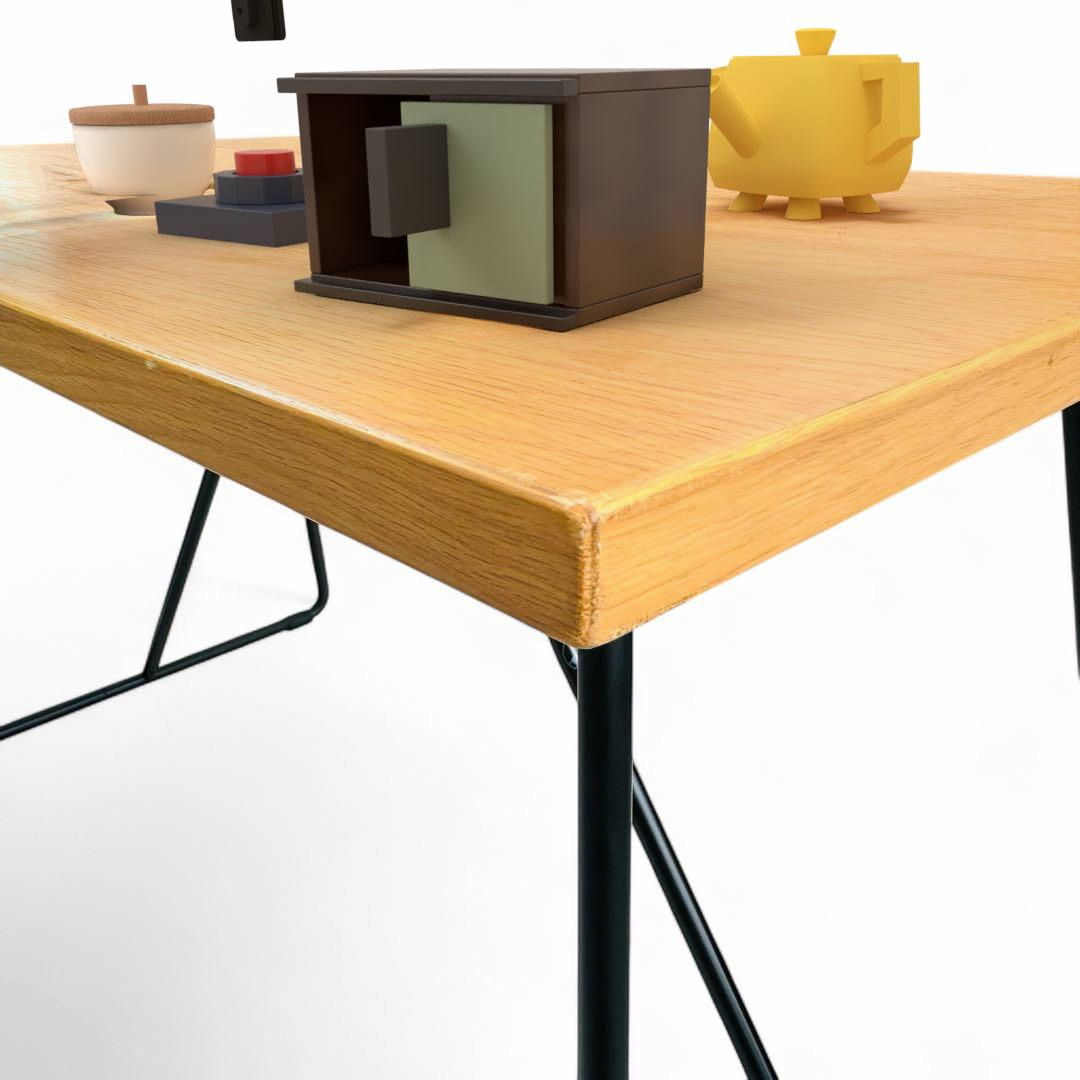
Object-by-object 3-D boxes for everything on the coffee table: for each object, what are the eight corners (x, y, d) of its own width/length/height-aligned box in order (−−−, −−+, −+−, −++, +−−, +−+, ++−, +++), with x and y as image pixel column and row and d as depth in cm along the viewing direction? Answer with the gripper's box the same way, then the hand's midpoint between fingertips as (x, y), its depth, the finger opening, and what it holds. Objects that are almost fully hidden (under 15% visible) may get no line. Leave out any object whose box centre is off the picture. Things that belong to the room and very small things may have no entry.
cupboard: (562, 332, 53) (561, 73, 49) (294, 291, 63) (275, 73, 59) (703, 288, 62) (712, 68, 58) (450, 259, 72) (442, 68, 68)
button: (224, 179, 82) (221, 152, 82) (269, 174, 85) (266, 148, 85) (263, 182, 80) (261, 154, 79) (308, 177, 83) (306, 150, 82)
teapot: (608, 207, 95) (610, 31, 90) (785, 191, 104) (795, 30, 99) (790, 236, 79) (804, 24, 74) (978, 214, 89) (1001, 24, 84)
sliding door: (489, 320, 51) (483, 108, 48) (350, 300, 55) (336, 105, 52) (554, 303, 54) (553, 103, 51) (417, 284, 59) (408, 101, 56)
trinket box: (61, 211, 96) (41, 85, 93) (185, 200, 103) (171, 82, 99) (119, 224, 89) (100, 87, 85) (249, 210, 95) (237, 83, 92)
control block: (157, 233, 84) (150, 173, 82) (268, 218, 91) (263, 162, 90) (275, 248, 77) (269, 182, 76) (384, 229, 84) (381, 170, 83)
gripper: (161, -327, 65) (207, 42, 72) (358, -279, 76) (381, 37, 83) (79, -302, 69) (130, 44, 76) (277, -260, 80) (305, 40, 87)
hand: (261, 40), depth 80 cm, fingers closed
